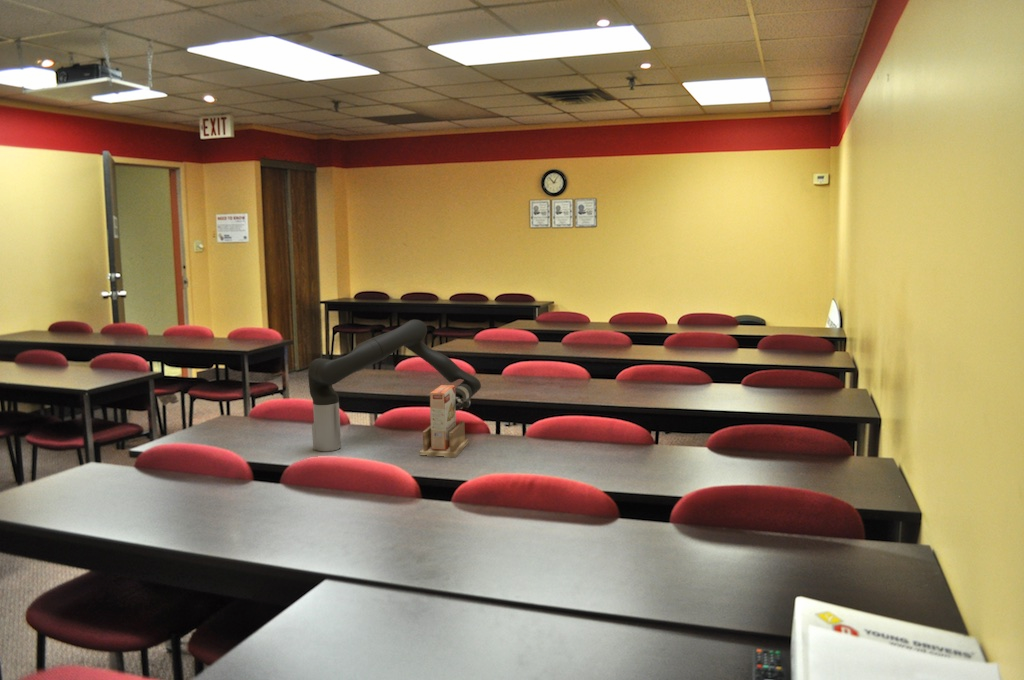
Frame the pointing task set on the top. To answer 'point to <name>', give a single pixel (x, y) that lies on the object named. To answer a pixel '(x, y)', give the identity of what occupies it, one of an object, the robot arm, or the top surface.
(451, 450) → the book rack
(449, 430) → the cracker box
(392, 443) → the top surface
